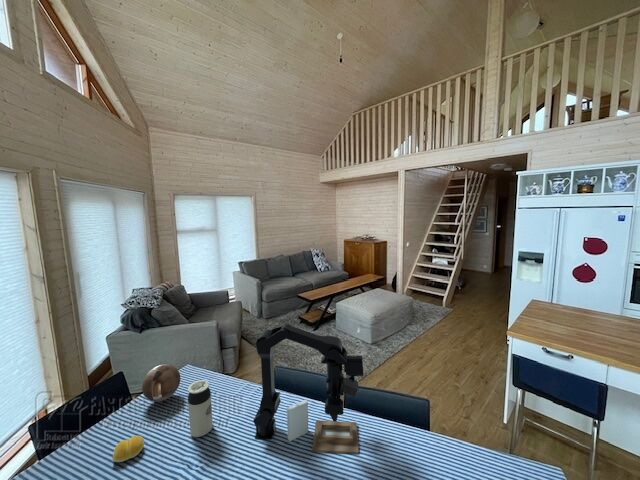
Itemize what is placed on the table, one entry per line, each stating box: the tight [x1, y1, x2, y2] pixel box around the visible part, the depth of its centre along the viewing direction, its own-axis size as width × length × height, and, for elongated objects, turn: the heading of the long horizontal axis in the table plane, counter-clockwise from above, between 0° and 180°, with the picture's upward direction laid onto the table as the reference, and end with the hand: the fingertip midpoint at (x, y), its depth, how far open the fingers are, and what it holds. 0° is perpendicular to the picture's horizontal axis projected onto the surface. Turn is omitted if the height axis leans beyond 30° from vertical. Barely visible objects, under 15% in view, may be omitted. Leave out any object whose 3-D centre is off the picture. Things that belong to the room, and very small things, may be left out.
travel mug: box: [187, 379, 214, 438], centre depth 101 cm, size 8×8×18 cm
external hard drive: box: [286, 399, 309, 442], centre depth 98 cm, size 2×8×12 cm, turn 121°
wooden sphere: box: [141, 363, 181, 403], centre depth 120 cm, size 15×15×15 cm
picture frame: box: [311, 419, 359, 455], centre depth 97 cm, size 16×13×3 cm
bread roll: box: [112, 435, 145, 463], centre depth 92 cm, size 8×9×4 cm
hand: (335, 413), depth 96 cm, fingers open, 7 cm apart
